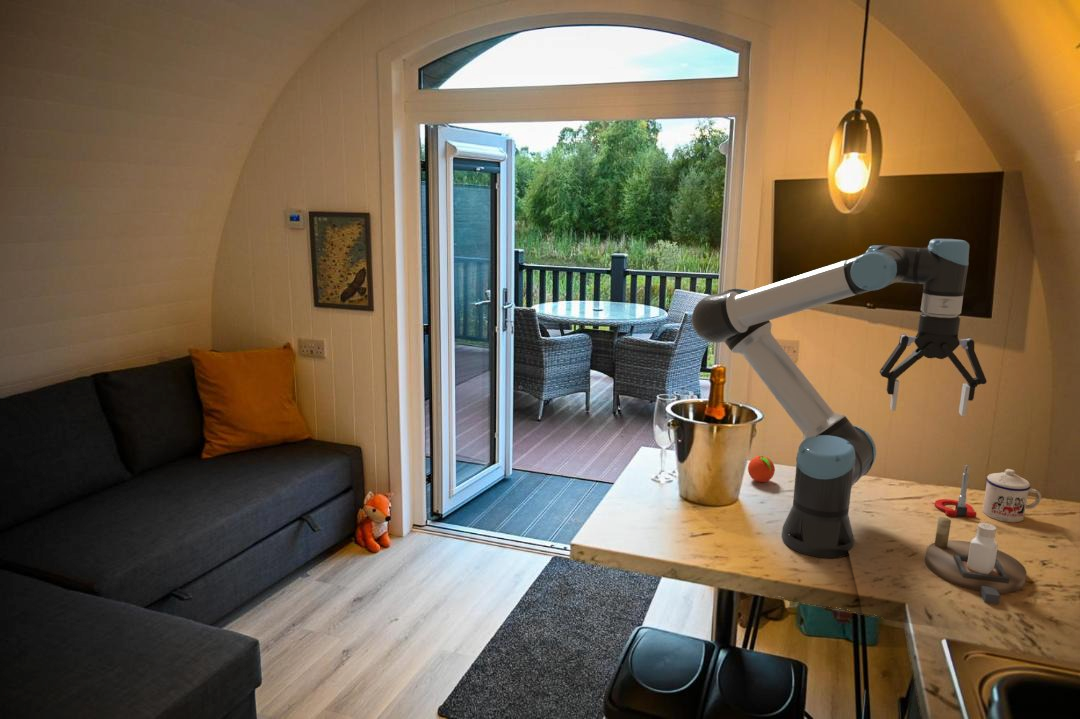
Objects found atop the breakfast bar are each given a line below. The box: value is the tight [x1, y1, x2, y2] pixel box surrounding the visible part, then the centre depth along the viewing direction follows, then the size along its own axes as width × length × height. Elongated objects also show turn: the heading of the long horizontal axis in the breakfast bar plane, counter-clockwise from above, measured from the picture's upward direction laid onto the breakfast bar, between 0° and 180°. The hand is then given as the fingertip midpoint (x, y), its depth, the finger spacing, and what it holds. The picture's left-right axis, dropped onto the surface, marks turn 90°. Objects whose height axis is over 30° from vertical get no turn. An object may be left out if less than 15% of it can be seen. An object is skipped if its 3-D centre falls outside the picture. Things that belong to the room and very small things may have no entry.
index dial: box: [924, 516, 1027, 594], centre depth 155 cm, size 18×18×8 cm
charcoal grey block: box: [979, 586, 1001, 605], centre depth 145 cm, size 2×3×3 cm
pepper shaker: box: [967, 522, 999, 574], centre depth 150 cm, size 4×4×10 cm
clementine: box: [747, 455, 776, 483], centre depth 202 cm, size 8×7×7 cm
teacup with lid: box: [982, 468, 1042, 523], centre depth 182 cm, size 12×9×12 cm
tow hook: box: [934, 464, 977, 518], centre depth 185 cm, size 8×13×9 cm
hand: (926, 411), depth 162 cm, fingers open, 13 cm apart
